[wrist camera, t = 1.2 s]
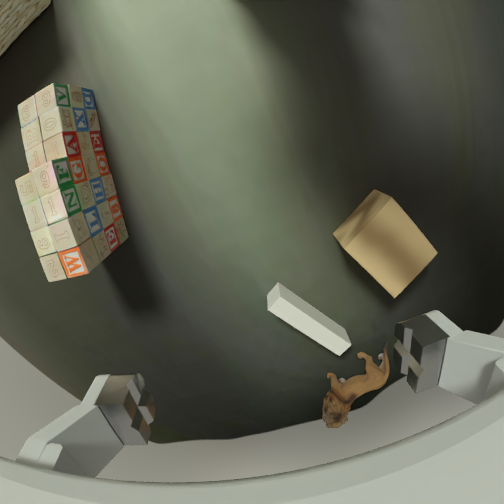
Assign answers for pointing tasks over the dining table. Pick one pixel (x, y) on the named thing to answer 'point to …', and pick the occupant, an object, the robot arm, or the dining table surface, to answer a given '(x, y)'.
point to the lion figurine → (353, 389)
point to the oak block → (385, 242)
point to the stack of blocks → (68, 182)
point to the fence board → (307, 319)
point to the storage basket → (17, 18)
